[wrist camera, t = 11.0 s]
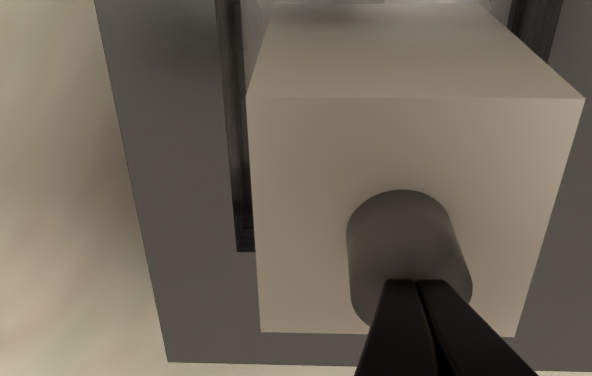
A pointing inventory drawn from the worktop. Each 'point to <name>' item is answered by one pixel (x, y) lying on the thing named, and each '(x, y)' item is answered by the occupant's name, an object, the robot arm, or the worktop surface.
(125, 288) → the worktop surface
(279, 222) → the plug
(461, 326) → the robot arm
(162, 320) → the socket plate
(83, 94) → the worktop surface
